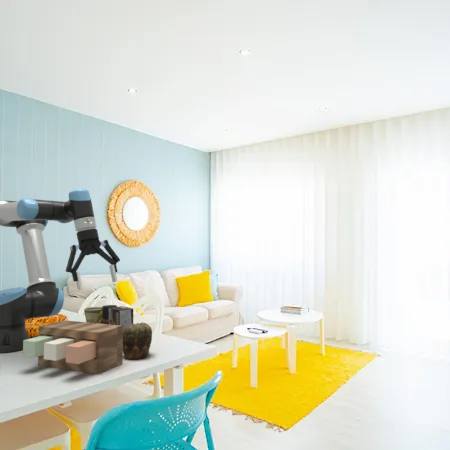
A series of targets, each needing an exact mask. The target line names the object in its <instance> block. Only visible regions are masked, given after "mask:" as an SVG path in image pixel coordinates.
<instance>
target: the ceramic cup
mask: <svg viewBox="0 0 450 450" xmlns="http://www.w3.org/2000/svg"><path fill="white" fill-rule="evenodd" d="M83 310H84V317H85V322H88V323H99V324H102V306H90V307H86V308H84V309H83Z"/></svg>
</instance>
